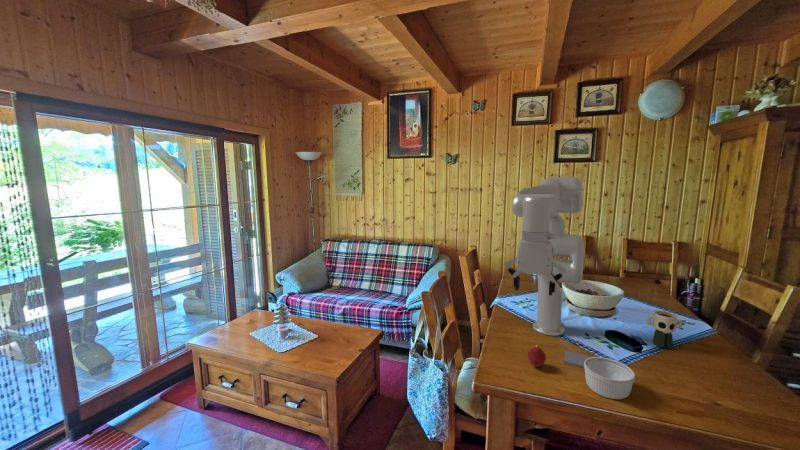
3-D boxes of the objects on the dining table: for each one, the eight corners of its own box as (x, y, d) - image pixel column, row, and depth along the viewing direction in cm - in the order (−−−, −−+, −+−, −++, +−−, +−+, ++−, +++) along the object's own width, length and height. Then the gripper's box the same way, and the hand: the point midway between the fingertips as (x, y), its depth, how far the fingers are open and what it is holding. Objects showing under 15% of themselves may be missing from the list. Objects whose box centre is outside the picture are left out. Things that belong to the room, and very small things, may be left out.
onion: (547, 372, 110) (548, 350, 109) (529, 370, 111) (530, 348, 110) (543, 362, 116) (544, 341, 115) (526, 361, 117) (526, 340, 116)
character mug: (648, 347, 125) (651, 315, 123) (642, 339, 131) (645, 308, 129) (683, 352, 120) (687, 319, 119) (676, 343, 127) (679, 312, 125)
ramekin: (628, 381, 104) (629, 361, 103) (638, 407, 92) (640, 385, 91) (581, 372, 110) (582, 353, 109) (585, 395, 98) (586, 374, 97)
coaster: (565, 352, 122) (565, 350, 122) (589, 358, 118) (590, 356, 118) (563, 363, 115) (563, 361, 115) (589, 369, 111) (589, 367, 111)
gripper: (568, 236, 96) (566, 292, 98) (508, 233, 105) (507, 284, 107) (566, 241, 90) (563, 300, 92) (503, 236, 98) (501, 290, 101)
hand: (533, 291), depth 99 cm, fingers open, 9 cm apart
